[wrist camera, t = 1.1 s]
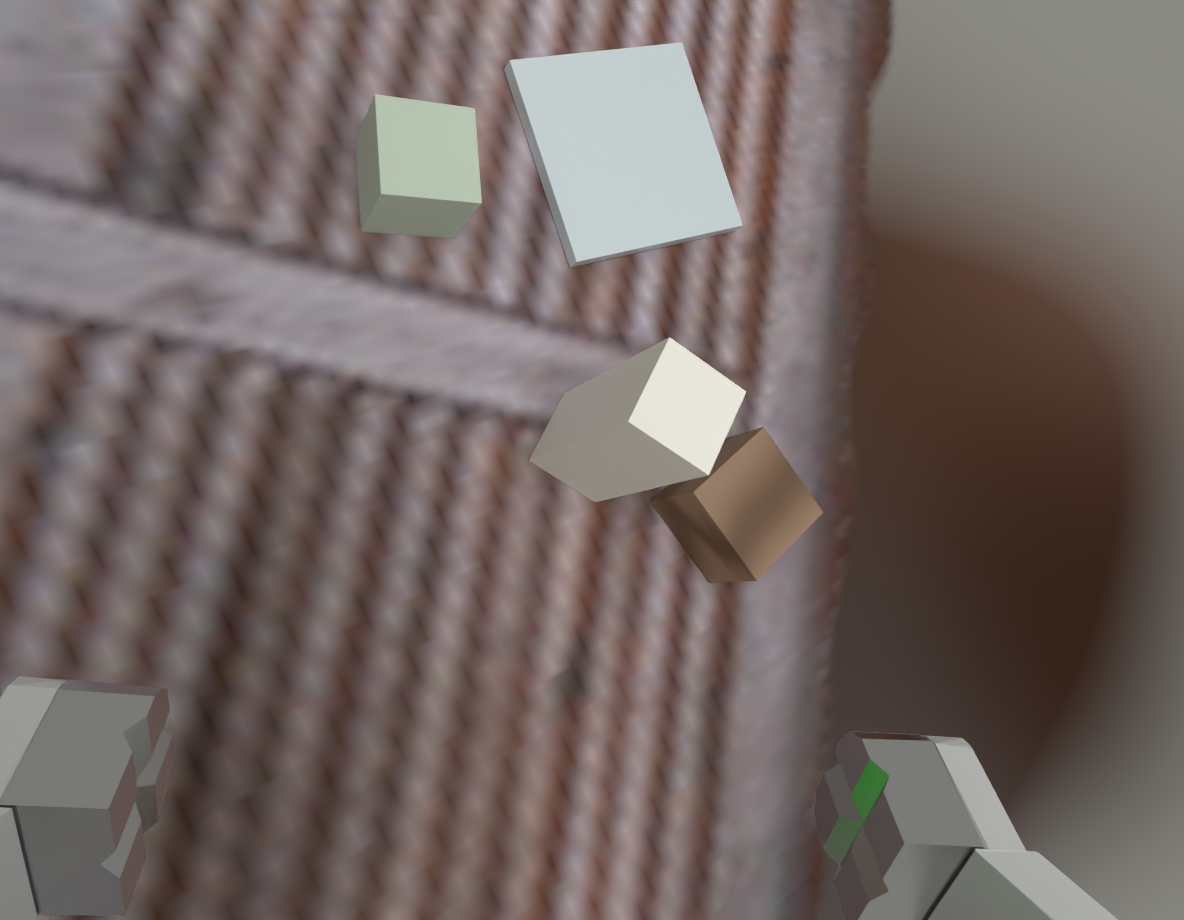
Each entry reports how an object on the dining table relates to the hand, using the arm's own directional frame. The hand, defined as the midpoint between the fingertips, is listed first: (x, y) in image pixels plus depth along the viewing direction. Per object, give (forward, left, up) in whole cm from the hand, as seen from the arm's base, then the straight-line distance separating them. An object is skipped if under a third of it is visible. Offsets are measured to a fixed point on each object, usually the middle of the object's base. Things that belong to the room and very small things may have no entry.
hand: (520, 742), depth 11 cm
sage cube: (-20, +14, -36) cm, 43 cm away
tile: (-20, +28, -36) cm, 50 cm away
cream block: (-4, +19, -36) cm, 41 cm away
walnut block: (+2, +26, -36) cm, 44 cm away
